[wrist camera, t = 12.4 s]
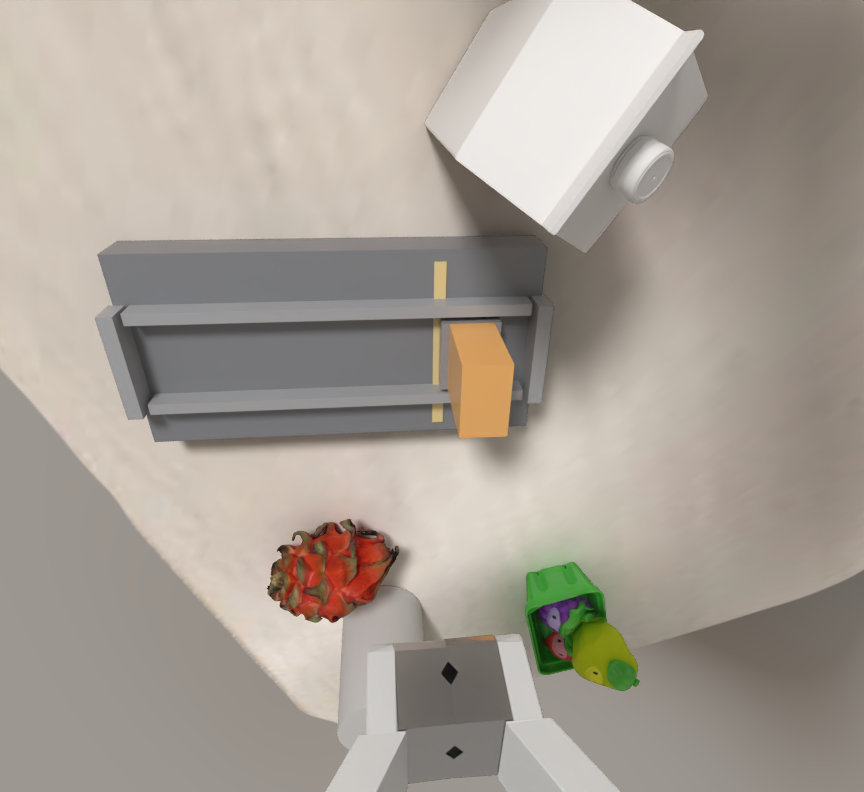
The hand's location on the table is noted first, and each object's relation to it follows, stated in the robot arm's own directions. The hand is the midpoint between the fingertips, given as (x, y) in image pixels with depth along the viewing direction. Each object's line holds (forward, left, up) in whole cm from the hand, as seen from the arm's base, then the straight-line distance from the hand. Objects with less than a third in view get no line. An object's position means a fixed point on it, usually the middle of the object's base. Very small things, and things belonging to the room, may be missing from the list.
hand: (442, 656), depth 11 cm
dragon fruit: (+28, -6, -31) cm, 42 cm away
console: (+7, -4, -31) cm, 32 cm away
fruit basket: (+38, +17, -31) cm, 52 cm away
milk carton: (-8, +7, -31) cm, 33 cm away
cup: (+39, -2, -31) cm, 50 cm away
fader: (+7, +5, -28) cm, 29 cm away
